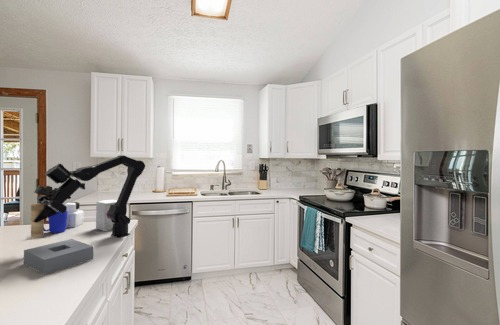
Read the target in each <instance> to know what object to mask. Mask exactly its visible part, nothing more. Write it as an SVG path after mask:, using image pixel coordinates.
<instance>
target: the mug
mask: <svg viewBox="0 0 500 325" xmlns="http://www.w3.org/2000/svg"><path fill="white" fill-rule="evenodd" d="M57 212H58V214H55V215H53V216H50V217H48V218H47V219H48V226H49V227H48V229H46V228H44V232H50V233H51V234H52V233H53V234H58V233H63V232H65V231H66V230H67V227H66V225H67V215H68V212H67V211H65V212H64V213H63V214H62V213H60V211H57Z"/></svg>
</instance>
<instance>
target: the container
mask: <svg viewBox="0 0 500 325" xmlns="http://www.w3.org/2000/svg"><path fill="white" fill-rule="evenodd" d="M65 206H66V207H67V210H66V211H67V212H68V215H67V225H66V228H76V227H79V226H81V225H83V224H84V210H80V202H78V201H70V202H67V203H65Z"/></svg>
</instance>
